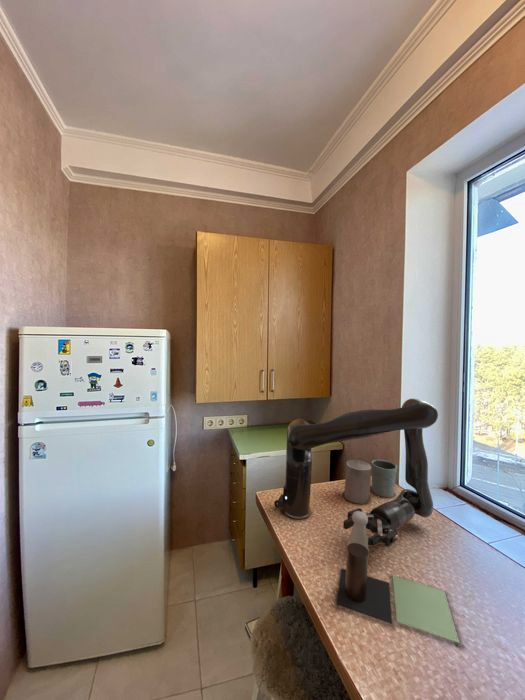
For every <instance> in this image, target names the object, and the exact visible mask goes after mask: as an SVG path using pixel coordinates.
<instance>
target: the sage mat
mask: <svg viewBox="0 0 525 700" xmlns="http://www.w3.org/2000/svg"><path fill="white" fill-rule="evenodd" d="M392 584H393V596H394V606H395V608H394V609H395V618H396V623H399V624H402V625H404V626H408V627H411V628H414V629H416V630H418V631H419V630H420V631H422V632H425V633H428V634H431V635H434V636H437V637H440V638H443V639H446V640H448V641H450V642H453V643H454V645H456V646H460V639H459V636H458V633H457V629H456V626H455V623H454V619H453V616H452V613H451V608H450V606H449V602H448V599H447V595H446V591H445V590H444V589H443V590H442V589H439V588H437V587H436V588H435V587H432V586H429V585H426V584H423V583H418V582H416V581H412V580H409V579H405V578H402V577H397V576H395V575H392Z"/></svg>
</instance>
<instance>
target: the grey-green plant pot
mask: <svg viewBox="0 0 525 700" xmlns="http://www.w3.org/2000/svg"><path fill="white" fill-rule="evenodd" d="M370 465H371V491H372V492H373V494H375V495H377V496H379V497H382V498H392V497H394V495H395V487H396V478H397V470H398V466H397V464H396V463H394V462H392V461H389V460H385V459H373V460H372V461H371V463H370Z"/></svg>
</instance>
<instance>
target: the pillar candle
mask: <svg viewBox="0 0 525 700" xmlns="http://www.w3.org/2000/svg"><path fill="white" fill-rule="evenodd" d="M344 478H345V479H344V493H343V494H344V498H345V499H346V500H347V501H348V502H351V503H354V504H358V505H364V504H368V503H369V502H370V495H371V479H372V465H371V464H369V462H366V461H364V460H359V459H350V460H349V459H348V460H346V462H345V476H344Z"/></svg>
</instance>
